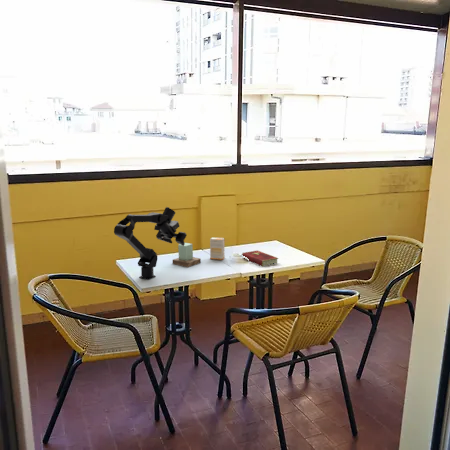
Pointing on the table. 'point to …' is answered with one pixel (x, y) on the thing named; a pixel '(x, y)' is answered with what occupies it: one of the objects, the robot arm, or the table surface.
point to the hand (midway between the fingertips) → (177, 243)
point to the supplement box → (217, 248)
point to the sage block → (185, 251)
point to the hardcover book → (260, 258)
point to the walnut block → (187, 262)
